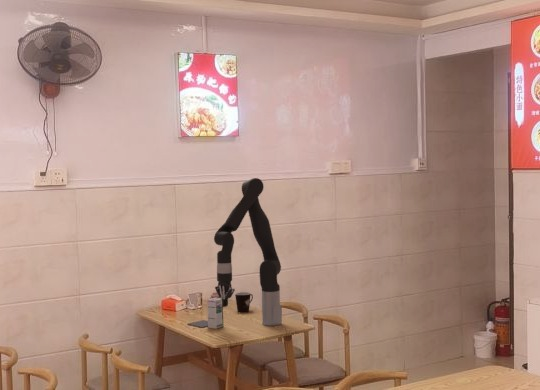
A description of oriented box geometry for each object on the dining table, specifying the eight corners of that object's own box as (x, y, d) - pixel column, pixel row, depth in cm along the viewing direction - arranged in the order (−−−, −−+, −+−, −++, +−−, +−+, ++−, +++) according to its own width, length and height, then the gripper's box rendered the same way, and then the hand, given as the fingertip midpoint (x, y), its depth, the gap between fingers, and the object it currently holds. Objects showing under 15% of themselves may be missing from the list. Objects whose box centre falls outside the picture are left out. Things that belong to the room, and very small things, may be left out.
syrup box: (216, 329, 350) (215, 300, 349) (207, 327, 354) (206, 299, 353) (223, 326, 355) (223, 298, 354) (215, 325, 358) (214, 297, 358)
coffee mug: (238, 313, 386) (238, 295, 386) (233, 310, 394) (232, 293, 394) (258, 311, 391) (257, 293, 390) (252, 308, 399) (252, 291, 398)
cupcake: (211, 304, 414) (210, 287, 414) (226, 304, 413) (226, 287, 413) (208, 307, 405) (207, 290, 405) (224, 307, 404) (223, 290, 404)
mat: (218, 324, 361) (218, 323, 361) (202, 327, 353) (202, 326, 353) (203, 320, 369) (203, 320, 369) (187, 324, 361) (187, 323, 361)
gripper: (239, 272, 346) (239, 307, 346) (221, 269, 355) (222, 303, 356) (227, 273, 340) (227, 309, 341) (210, 271, 350) (210, 305, 351)
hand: (224, 306), depth 348 cm, fingers closed
